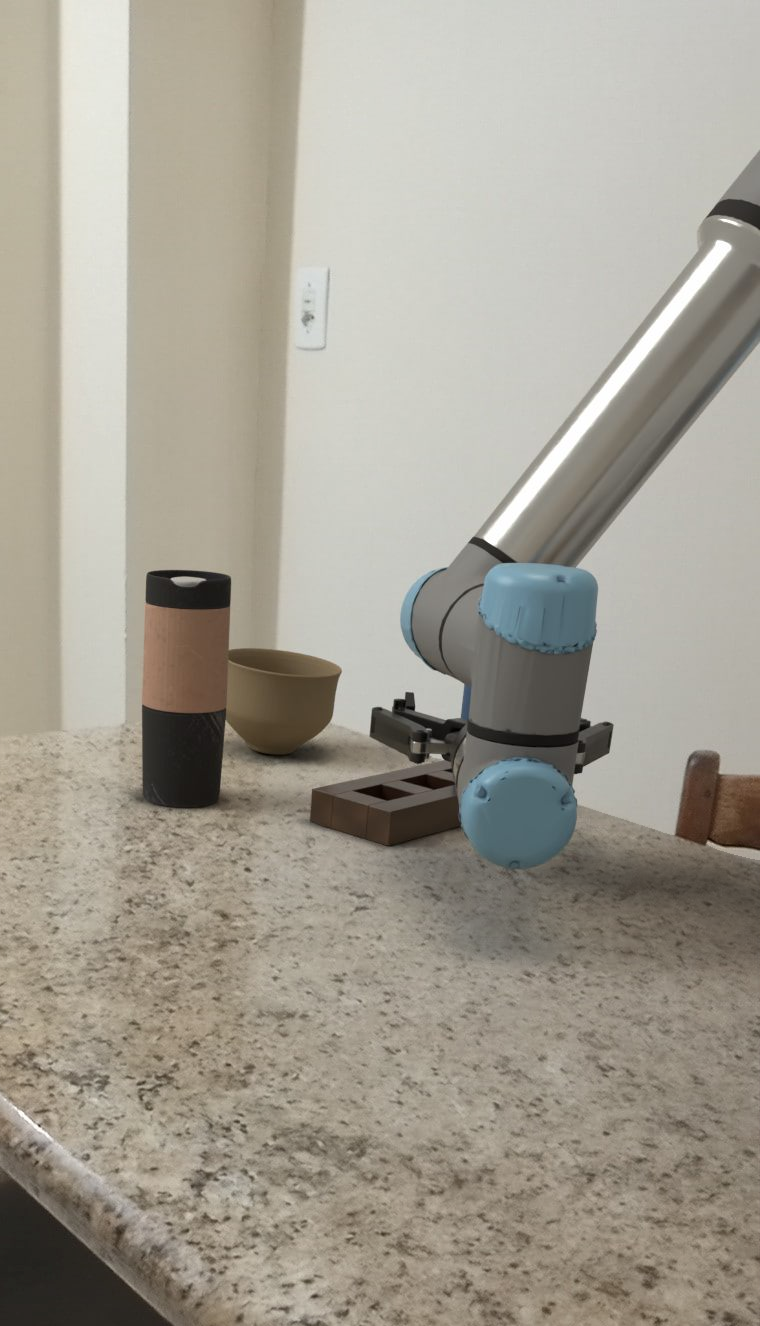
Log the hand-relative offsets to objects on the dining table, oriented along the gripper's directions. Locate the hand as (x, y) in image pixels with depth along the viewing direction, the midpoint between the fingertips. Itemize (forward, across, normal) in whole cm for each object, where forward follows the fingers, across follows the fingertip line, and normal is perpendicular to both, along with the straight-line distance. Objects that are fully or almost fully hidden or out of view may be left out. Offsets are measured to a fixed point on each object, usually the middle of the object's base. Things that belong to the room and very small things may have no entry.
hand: (483, 712), depth 124 cm
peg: (+3, 0, -9) cm, 10 cm away
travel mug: (-3, -27, -10) cm, 29 cm away
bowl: (+19, -20, -10) cm, 29 cm away
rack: (-2, -4, -9) cm, 10 cm away
